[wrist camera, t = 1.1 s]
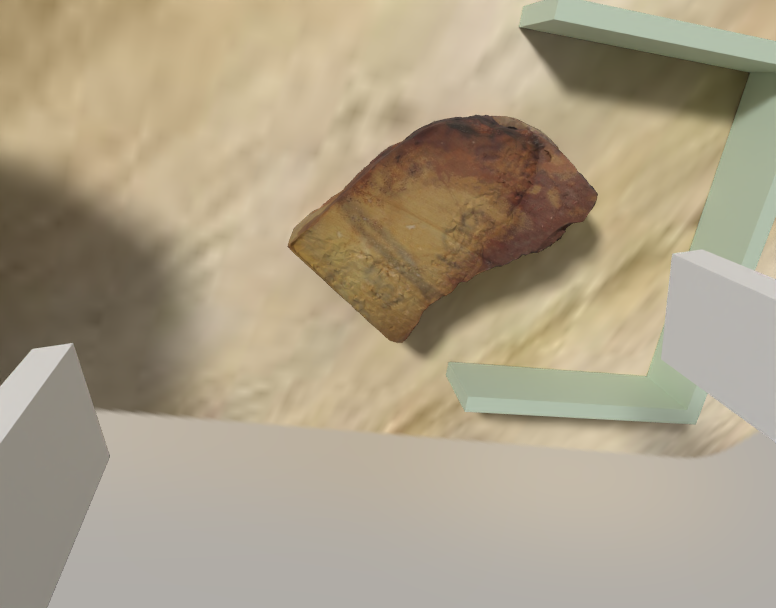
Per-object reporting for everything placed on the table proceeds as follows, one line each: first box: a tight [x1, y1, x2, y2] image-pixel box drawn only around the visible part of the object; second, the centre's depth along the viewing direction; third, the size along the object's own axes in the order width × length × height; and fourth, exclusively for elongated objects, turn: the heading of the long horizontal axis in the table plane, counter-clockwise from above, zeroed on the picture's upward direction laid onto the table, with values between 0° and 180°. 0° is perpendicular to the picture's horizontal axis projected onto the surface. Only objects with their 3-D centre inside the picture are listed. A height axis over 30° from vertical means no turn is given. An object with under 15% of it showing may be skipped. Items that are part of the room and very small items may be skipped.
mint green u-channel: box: [446, 0, 776, 425], centre depth 34 cm, size 16×22×4 cm
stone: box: [288, 115, 598, 343], centre depth 32 cm, size 15×9×5 cm, turn 123°
